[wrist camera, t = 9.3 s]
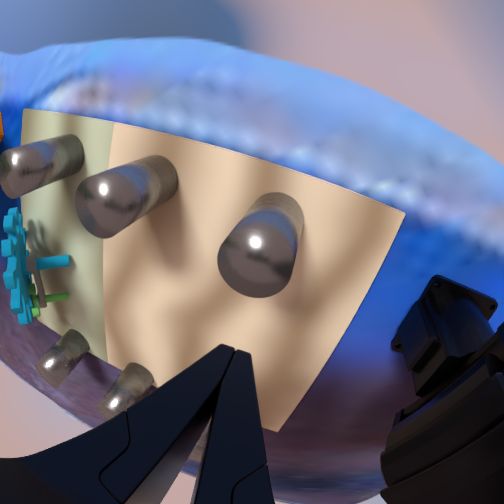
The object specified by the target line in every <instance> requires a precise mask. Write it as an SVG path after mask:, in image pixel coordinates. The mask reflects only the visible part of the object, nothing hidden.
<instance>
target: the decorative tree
mask: <svg viewBox="0 0 504 504" xmlns="http://www.w3.org/2000/svg"><path fill="white" fill-rule="evenodd" d="M3 136H4V132H3V124H2V116H1V112H0V143H1V140H2V138H3Z"/></svg>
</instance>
